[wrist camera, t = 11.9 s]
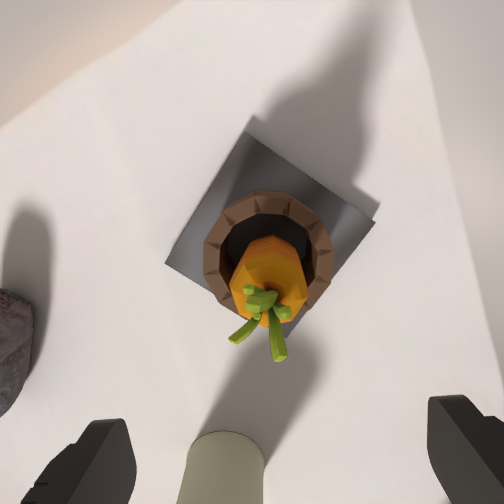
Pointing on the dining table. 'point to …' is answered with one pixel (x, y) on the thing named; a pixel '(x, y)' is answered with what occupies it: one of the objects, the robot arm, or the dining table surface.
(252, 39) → the dining table surface
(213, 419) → the dining table surface
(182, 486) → the can
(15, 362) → the perforated stone tool
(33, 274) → the dining table surface
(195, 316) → the dining table surface
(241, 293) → the carrot
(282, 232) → the holder
